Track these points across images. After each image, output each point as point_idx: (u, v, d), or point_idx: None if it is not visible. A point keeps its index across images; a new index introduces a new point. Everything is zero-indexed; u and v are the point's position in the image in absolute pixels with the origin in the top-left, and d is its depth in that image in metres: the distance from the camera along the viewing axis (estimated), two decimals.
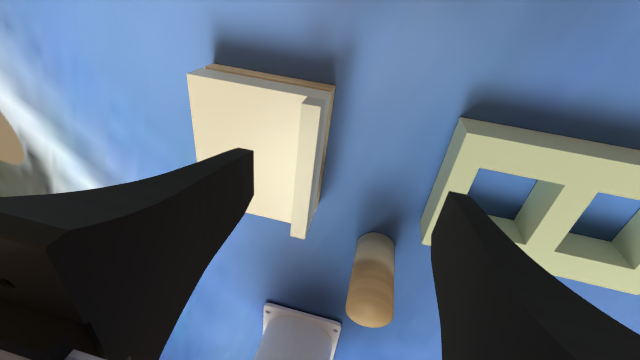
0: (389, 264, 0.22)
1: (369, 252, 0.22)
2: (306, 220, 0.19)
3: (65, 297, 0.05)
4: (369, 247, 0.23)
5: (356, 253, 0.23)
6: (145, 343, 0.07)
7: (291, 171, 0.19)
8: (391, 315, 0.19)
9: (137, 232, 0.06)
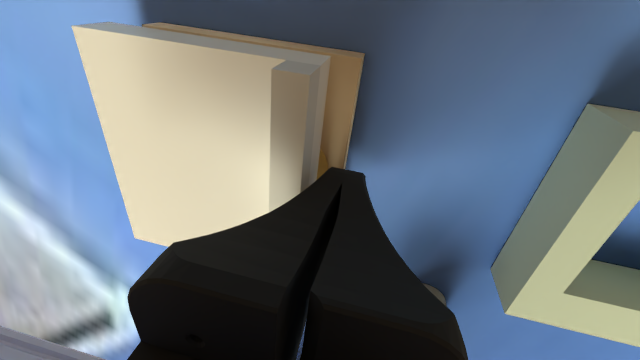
0: None
1: None
2: None
3: (267, 356, 0.05)
4: None
5: None
6: None
7: (266, 195, 0.11)
8: None
9: (302, 274, 0.06)
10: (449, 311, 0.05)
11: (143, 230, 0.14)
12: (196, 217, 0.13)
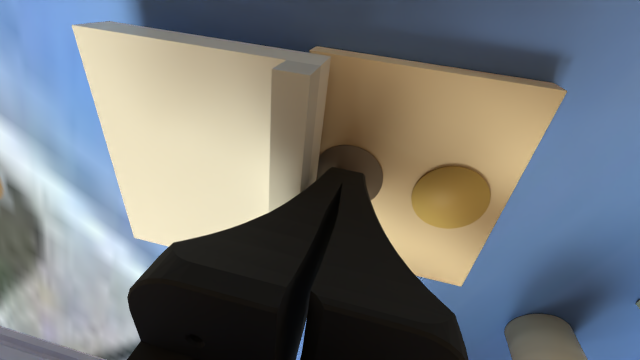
0: None
1: (558, 357, 0.13)
2: None
3: (267, 357, 0.05)
4: (550, 344, 0.14)
5: (523, 351, 0.14)
6: None
7: (266, 195, 0.11)
8: None
9: (302, 274, 0.06)
10: (449, 311, 0.05)
11: (142, 229, 0.14)
12: (196, 217, 0.13)
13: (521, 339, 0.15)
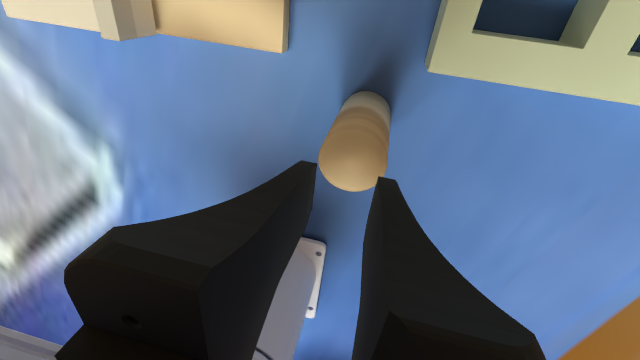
0: (382, 114, 0.15)
1: (355, 102, 0.16)
2: (111, 3, 0.14)
3: (198, 336, 0.05)
4: (355, 100, 0.16)
5: (338, 113, 0.17)
6: None
7: None
8: (384, 162, 0.13)
9: (247, 260, 0.06)
10: (529, 331, 0.04)
11: (11, 3, 0.17)
12: None
13: (341, 108, 0.17)
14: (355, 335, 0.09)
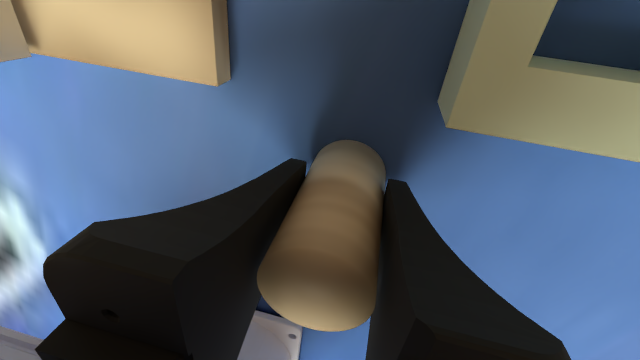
0: (370, 189, 0.10)
1: (329, 166, 0.10)
2: None
3: (175, 330, 0.05)
4: (330, 159, 0.11)
5: (305, 177, 0.11)
6: None
7: None
8: (371, 299, 0.07)
9: (228, 255, 0.06)
10: (556, 338, 0.04)
11: None
12: None
13: (310, 167, 0.12)
14: (368, 338, 0.09)
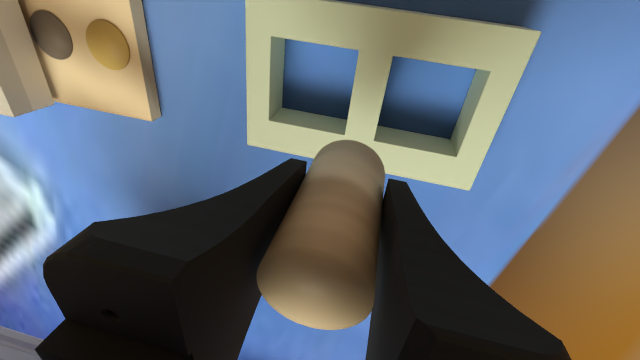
0: (371, 191, 0.10)
1: (331, 166, 0.10)
2: (3, 91, 0.18)
3: (176, 329, 0.05)
4: (332, 158, 0.11)
5: (306, 175, 0.11)
6: None
7: None
8: (369, 300, 0.07)
9: (228, 255, 0.06)
10: (556, 338, 0.04)
11: None
12: None
13: (311, 165, 0.12)
14: (368, 339, 0.09)
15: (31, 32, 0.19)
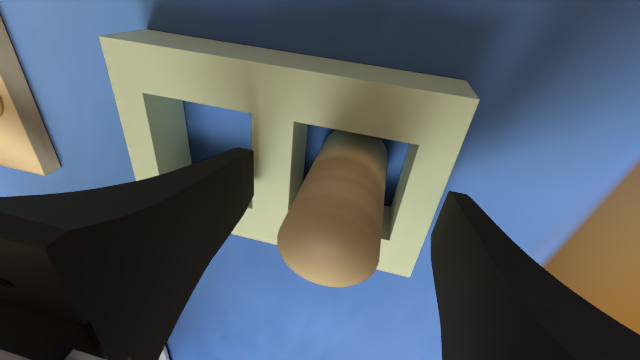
0: (376, 168, 0.11)
1: (340, 147, 0.11)
2: None
3: (65, 297, 0.05)
4: (341, 141, 0.12)
5: (316, 157, 0.12)
6: (145, 343, 0.07)
7: None
8: (375, 257, 0.09)
9: (137, 232, 0.06)
10: None
11: None
12: None
13: (321, 148, 0.13)
14: (442, 359, 0.08)
15: None
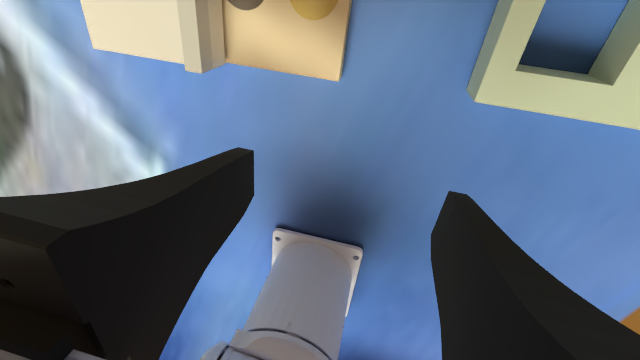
0: None
1: None
2: (198, 42, 0.16)
3: (65, 297, 0.05)
4: None
5: None
6: (145, 343, 0.07)
7: None
8: None
9: (137, 232, 0.06)
10: None
11: (98, 37, 0.19)
12: (134, 15, 0.17)
13: None
14: (442, 359, 0.08)
15: None
